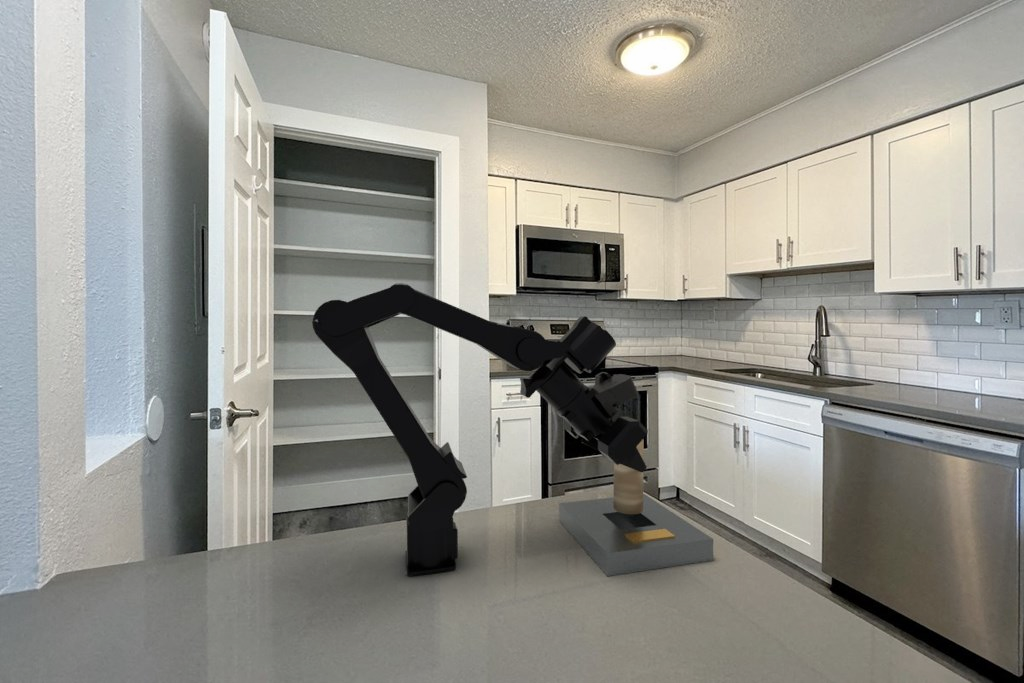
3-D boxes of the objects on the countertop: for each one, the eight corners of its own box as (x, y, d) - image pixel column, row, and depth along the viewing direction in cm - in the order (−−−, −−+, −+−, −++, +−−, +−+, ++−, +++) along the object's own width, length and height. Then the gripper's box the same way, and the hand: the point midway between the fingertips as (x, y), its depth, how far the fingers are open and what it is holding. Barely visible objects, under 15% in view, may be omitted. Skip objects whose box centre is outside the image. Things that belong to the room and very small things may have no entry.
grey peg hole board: (607, 576, 59) (607, 551, 59) (559, 520, 77) (559, 501, 77) (713, 560, 63) (713, 537, 63) (644, 510, 81) (644, 493, 81)
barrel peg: (632, 516, 67) (632, 431, 67) (607, 507, 70) (607, 426, 70) (649, 509, 70) (649, 427, 69) (624, 501, 73) (625, 423, 73)
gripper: (634, 360, 59) (708, 440, 62) (582, 353, 78) (641, 415, 80) (576, 423, 58) (655, 502, 61) (537, 401, 76) (598, 463, 79)
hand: (636, 465), depth 70 cm, fingers closed on barrel peg, 4 cm apart
